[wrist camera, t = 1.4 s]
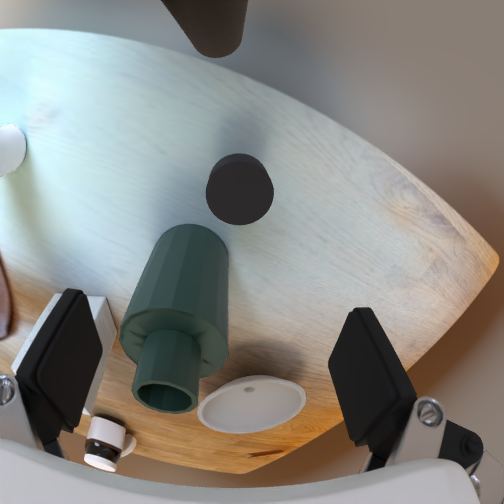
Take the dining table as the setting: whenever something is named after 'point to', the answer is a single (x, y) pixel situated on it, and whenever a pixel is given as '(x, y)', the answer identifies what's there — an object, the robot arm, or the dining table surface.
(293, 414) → the dish
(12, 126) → the white cup
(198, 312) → the bottle
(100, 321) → the small box
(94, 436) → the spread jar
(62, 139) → the dining table surface
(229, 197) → the stopper
